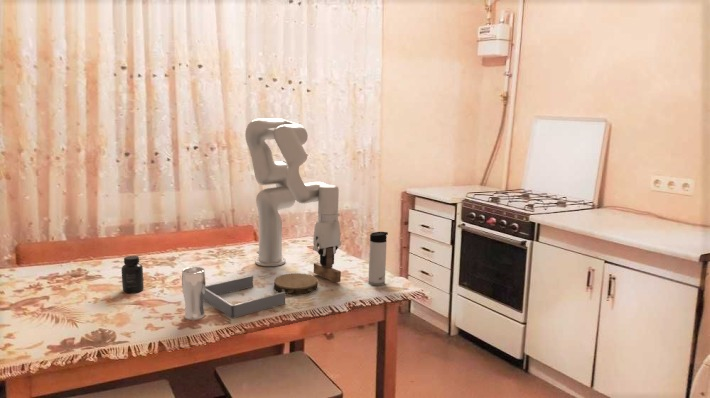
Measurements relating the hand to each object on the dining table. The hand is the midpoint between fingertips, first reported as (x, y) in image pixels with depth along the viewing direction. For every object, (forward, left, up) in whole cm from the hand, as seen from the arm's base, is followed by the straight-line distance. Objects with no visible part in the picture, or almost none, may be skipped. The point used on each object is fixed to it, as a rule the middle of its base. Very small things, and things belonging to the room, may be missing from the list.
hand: (326, 263), depth 197 cm
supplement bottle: (-32, -62, -6) cm, 70 cm away
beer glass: (+2, -55, -6) cm, 55 cm away
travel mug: (+15, +12, -6) cm, 21 cm away
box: (0, -36, -6) cm, 37 cm away
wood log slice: (0, -15, -7) cm, 16 cm away
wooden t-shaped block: (0, 0, -5) cm, 5 cm away
